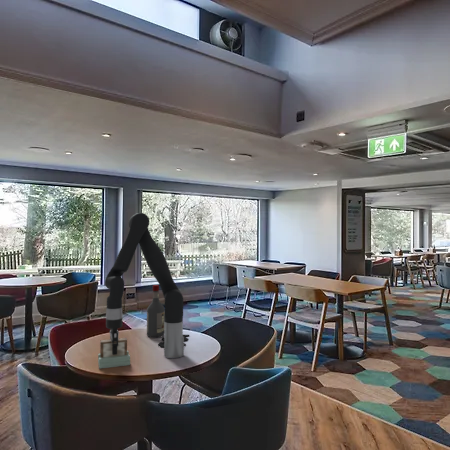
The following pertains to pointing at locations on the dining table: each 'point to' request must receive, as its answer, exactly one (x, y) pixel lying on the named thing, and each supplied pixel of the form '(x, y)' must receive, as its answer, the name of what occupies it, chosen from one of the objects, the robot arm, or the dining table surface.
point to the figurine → (163, 340)
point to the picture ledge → (114, 361)
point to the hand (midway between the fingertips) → (114, 351)
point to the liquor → (155, 316)
